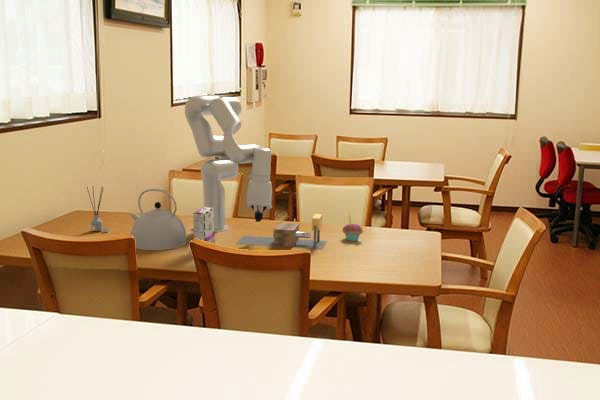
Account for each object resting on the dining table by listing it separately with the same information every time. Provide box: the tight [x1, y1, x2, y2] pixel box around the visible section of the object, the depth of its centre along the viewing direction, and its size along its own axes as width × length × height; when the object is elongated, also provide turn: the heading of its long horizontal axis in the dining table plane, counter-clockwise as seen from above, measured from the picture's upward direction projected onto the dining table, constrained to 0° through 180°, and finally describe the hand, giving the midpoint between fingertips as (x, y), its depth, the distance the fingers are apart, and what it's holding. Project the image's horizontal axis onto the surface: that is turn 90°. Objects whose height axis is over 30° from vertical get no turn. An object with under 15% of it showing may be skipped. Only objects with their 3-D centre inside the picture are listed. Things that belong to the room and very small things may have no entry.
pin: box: [272, 227, 312, 239], centre depth 270 cm, size 15×5×5 cm, turn 80°
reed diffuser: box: [86, 185, 109, 233], centre depth 284 cm, size 10×7×20 cm
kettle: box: [129, 188, 187, 251], centre depth 267 cm, size 25×23×22 cm
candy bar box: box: [193, 206, 216, 244], centre depth 258 cm, size 11×5×16 cm, turn 168°
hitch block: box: [273, 222, 321, 248], centre depth 269 cm, size 17×12×9 cm
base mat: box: [235, 235, 328, 250], centre depth 271 cm, size 36×13×1 cm, turn 80°
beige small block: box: [311, 213, 323, 231], centre depth 267 cm, size 3×8×5 cm, turn 170°
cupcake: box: [342, 214, 364, 242], centre depth 278 cm, size 9×8×12 cm
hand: (258, 220), depth 272 cm, fingers closed
